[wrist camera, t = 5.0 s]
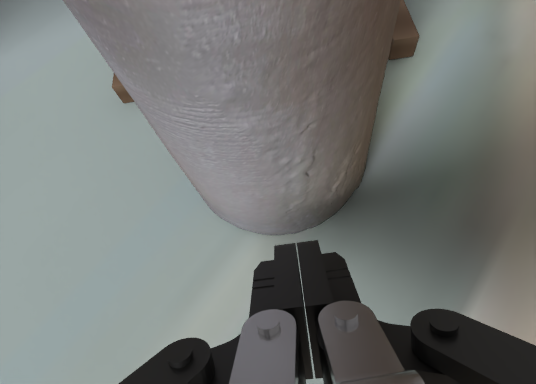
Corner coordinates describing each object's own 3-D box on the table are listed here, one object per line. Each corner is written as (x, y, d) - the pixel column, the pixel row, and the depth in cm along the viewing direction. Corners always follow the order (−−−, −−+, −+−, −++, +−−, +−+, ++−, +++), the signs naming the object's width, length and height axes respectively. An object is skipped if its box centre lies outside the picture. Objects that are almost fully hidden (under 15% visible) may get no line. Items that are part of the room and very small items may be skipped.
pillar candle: (318, 72, 22) (314, -361, 9) (399, 195, 18) (631, -305, 5) (176, 128, 22) (-49, -244, 9) (223, 270, 17) (-98, -48, 4)
